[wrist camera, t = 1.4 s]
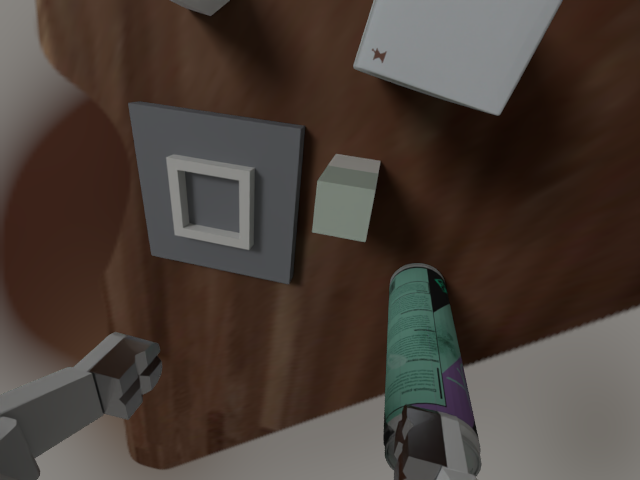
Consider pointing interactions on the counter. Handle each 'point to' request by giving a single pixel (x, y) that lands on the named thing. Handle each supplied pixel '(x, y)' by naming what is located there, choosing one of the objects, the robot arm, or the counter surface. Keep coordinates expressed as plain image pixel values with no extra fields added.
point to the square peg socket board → (219, 188)
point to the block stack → (346, 197)
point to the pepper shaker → (202, 5)
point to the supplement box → (455, 46)
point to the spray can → (425, 358)
